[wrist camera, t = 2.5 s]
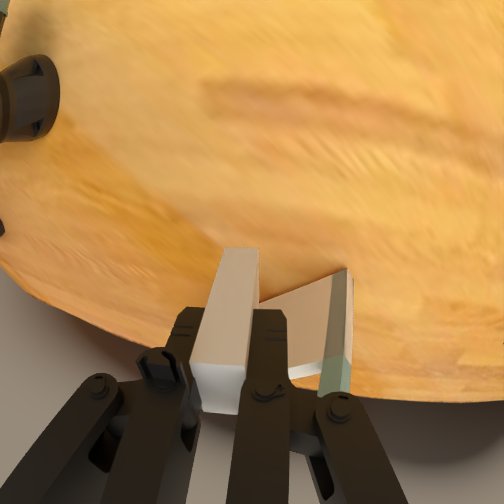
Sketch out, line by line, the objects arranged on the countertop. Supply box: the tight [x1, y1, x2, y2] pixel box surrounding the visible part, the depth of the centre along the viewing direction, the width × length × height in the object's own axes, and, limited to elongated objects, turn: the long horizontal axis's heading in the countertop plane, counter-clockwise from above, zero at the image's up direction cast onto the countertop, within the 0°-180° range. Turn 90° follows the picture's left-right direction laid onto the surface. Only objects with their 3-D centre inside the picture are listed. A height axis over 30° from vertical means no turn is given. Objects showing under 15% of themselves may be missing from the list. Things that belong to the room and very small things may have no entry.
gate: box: [201, 268, 354, 409], centre depth 32 cm, size 19×2×17 cm, turn 127°
